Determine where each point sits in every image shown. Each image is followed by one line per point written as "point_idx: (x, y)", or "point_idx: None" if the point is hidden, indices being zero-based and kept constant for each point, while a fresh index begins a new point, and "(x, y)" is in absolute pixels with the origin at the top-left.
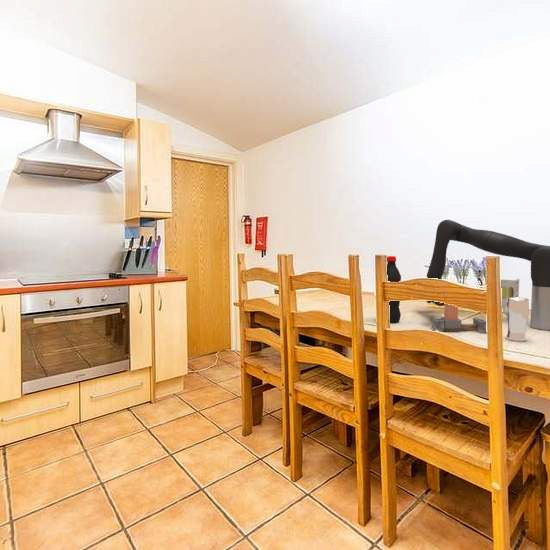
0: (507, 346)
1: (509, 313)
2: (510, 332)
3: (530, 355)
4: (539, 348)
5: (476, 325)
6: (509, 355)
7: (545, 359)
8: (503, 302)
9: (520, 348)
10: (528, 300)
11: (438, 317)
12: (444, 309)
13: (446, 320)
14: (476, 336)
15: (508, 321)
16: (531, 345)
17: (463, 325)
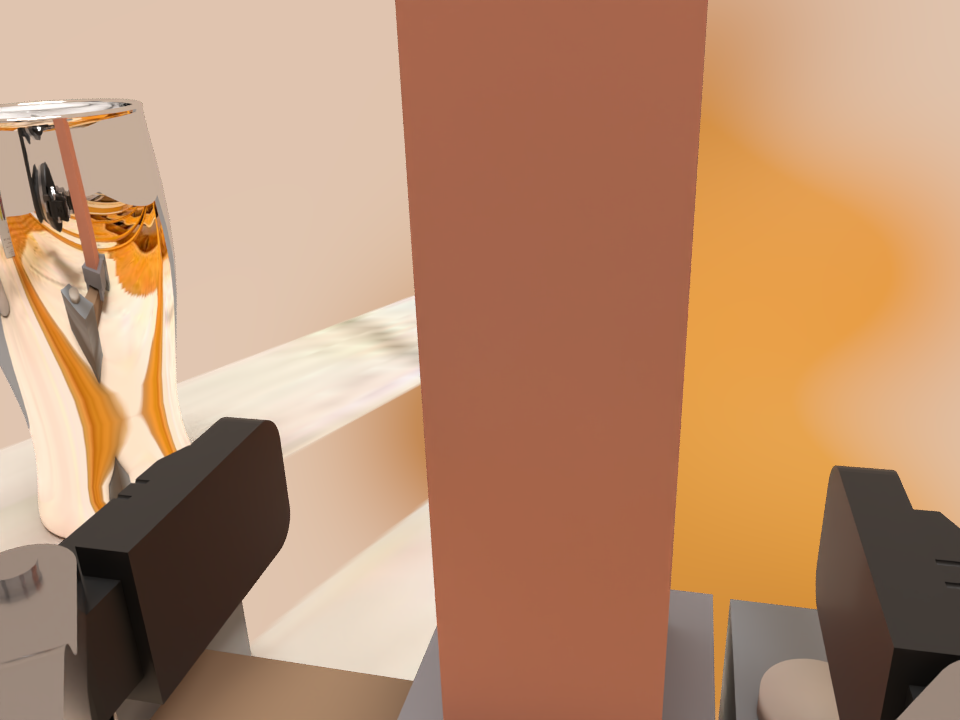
0: (377, 404)
1: (172, 253)
2: (183, 429)
3: (389, 332)
4: (220, 381)
5: (214, 655)
6: None
7: (371, 311)
8: None
9: (332, 383)
10: (7, 114)
11: (806, 717)
12: (667, 618)
13: (692, 594)
14: (404, 572)
15: (170, 342)
16: (199, 410)
17: (398, 679)
